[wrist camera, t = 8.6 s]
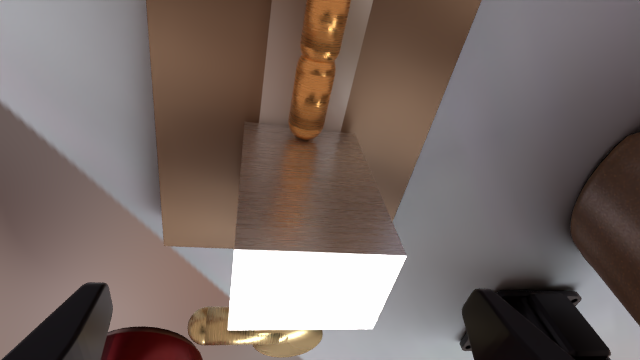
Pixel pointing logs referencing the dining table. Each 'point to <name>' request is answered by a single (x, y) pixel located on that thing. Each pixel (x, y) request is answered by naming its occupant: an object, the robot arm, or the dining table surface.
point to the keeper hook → (249, 334)
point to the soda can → (148, 345)
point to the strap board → (288, 94)
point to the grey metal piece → (310, 208)
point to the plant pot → (613, 222)
